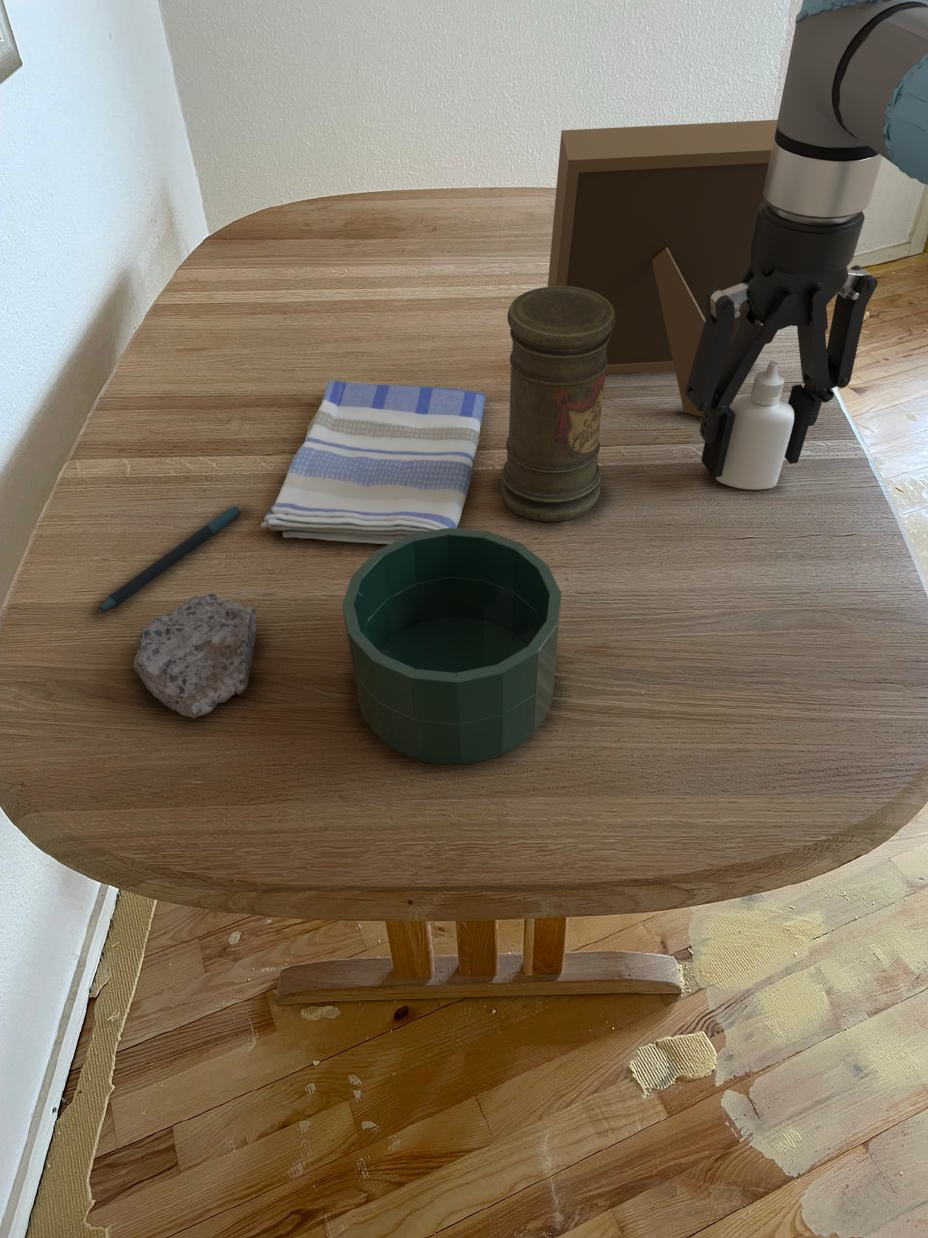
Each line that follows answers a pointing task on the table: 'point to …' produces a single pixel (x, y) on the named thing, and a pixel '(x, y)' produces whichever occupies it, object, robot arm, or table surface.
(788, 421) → the eye dropper bottle
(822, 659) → the table surface
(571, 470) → the container
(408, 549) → the pot
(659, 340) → the photo frame
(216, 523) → the pen
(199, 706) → the rock
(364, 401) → the dish towel
